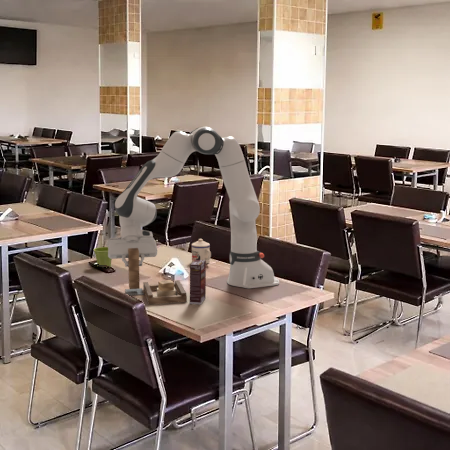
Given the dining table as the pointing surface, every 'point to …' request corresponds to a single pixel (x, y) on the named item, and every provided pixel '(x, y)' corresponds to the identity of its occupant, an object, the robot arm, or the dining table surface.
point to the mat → (134, 291)
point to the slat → (133, 268)
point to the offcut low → (166, 292)
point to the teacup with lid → (201, 251)
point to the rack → (165, 299)
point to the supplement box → (197, 282)
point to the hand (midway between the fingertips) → (133, 265)
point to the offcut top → (166, 285)
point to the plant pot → (102, 256)
